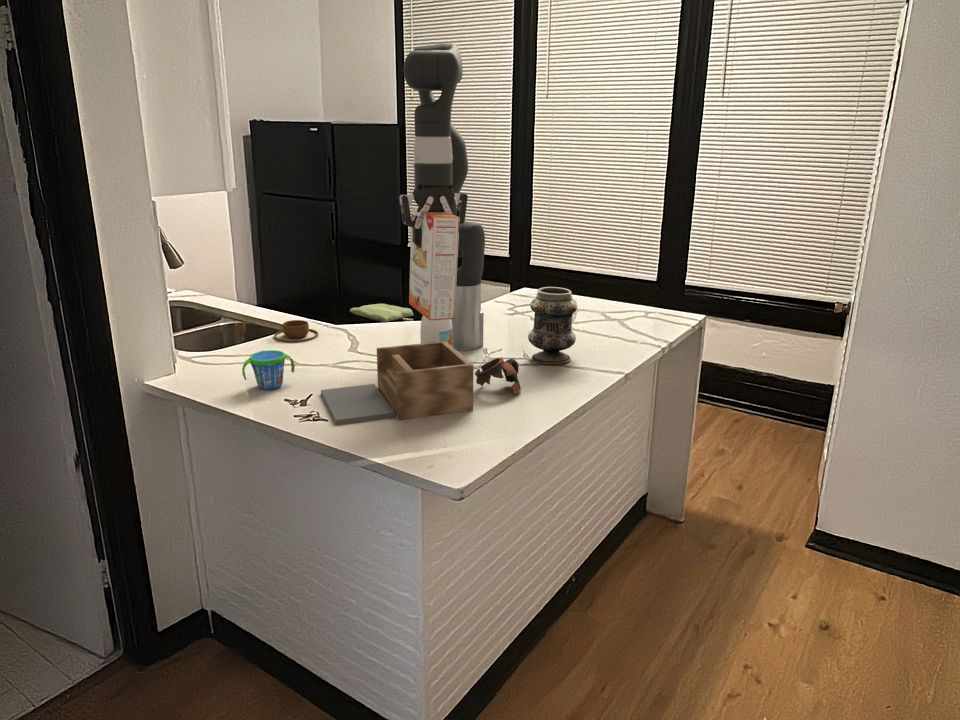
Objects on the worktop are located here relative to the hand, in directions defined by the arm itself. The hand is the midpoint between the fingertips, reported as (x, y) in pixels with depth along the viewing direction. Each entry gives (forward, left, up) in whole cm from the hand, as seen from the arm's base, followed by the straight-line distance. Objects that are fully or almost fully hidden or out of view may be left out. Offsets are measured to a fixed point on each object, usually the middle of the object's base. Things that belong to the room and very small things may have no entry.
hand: (434, 245), depth 146 cm
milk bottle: (-6, -18, -33) cm, 39 cm away
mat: (+17, -2, -33) cm, 37 cm away
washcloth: (-5, -73, -34) cm, 81 cm away
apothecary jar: (-36, -17, -33) cm, 52 cm away
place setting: (+26, -59, -34) cm, 73 cm away
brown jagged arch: (-17, 0, -34) cm, 39 cm away
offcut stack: (+7, 0, -33) cm, 34 cm away
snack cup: (+33, -20, -34) cm, 51 cm away
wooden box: (+3, 0, -33) cm, 33 cm away
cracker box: (+1, 0, -14) cm, 14 cm away
